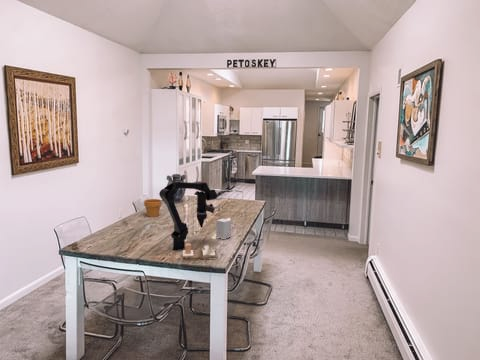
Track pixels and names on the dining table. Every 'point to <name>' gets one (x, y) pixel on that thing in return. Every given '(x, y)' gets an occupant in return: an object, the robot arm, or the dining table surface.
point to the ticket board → (202, 254)
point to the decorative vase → (181, 191)
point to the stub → (187, 251)
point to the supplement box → (223, 228)
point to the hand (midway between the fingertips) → (201, 225)
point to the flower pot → (152, 207)
